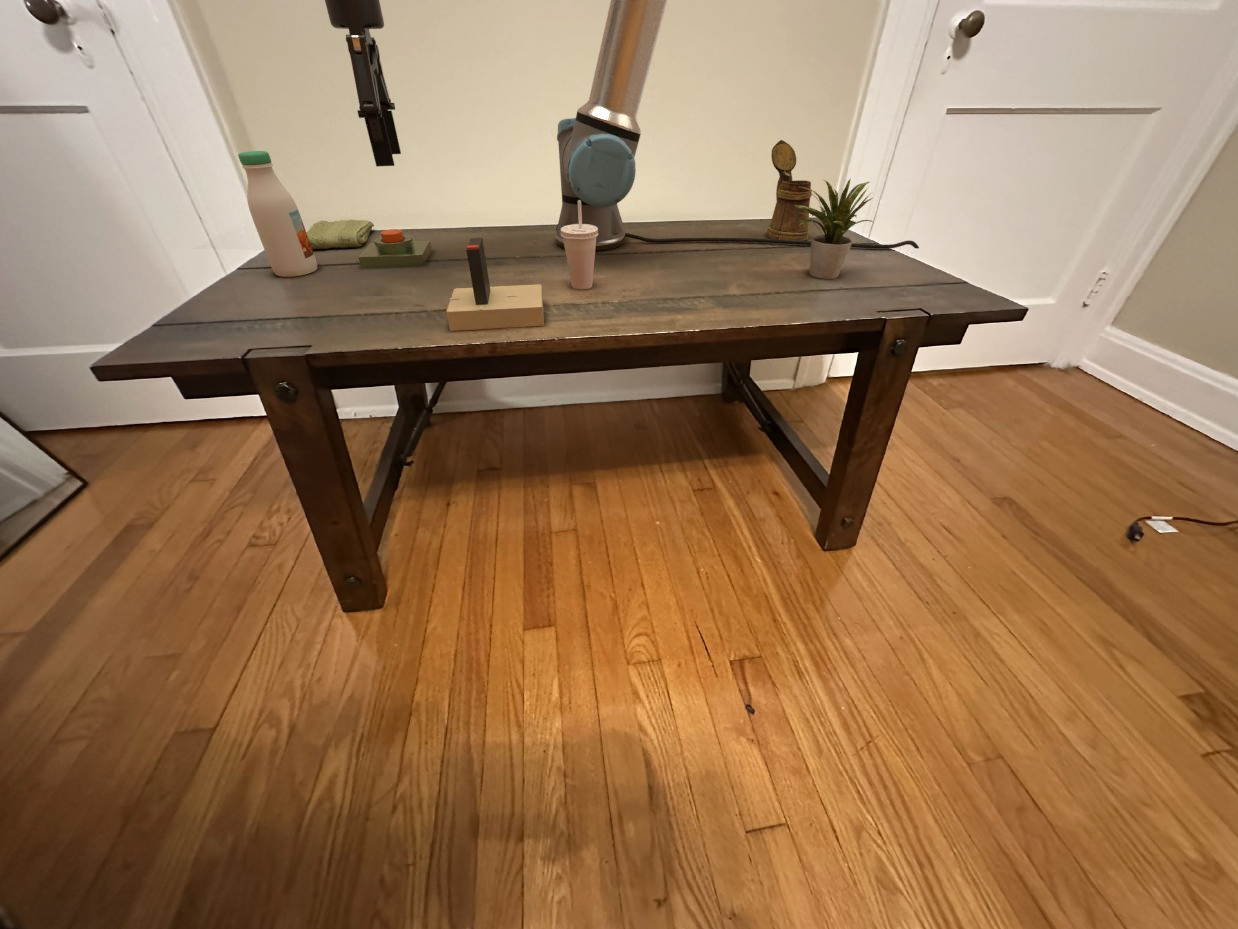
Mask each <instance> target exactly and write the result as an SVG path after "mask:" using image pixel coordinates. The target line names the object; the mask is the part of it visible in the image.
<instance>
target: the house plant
mask: <svg viewBox="0 0 1238 929" xmlns="http://www.w3.org/2000/svg"><path fill="white" fill-rule="evenodd" d="M823 182H825V184H826V186H827V192H828V201H829V205H828V202H826V200H825V199H824V198H823V197H822V196H821V195H820V194H819V193H818V192H816V191H815V190H813V189H812V188H811V189H812V190H811V189H808V188H805V189H808V190H811V191H812V195H811V196H814V198H817V201H818V204H819V208H820V210H818V209H816V208H813V207H811V206H809V207H806V206H800V205H794V206H796V207H798V208H801V209H804V210H805V211H807V212H808V213H809V216H808V215H807V216H808V217H809V219H805V220H802V221H803V222H802V221H800V222H801V224H804V223H807V222H809V223H810V222H812V223H813V225H814V226H816V228H817V229H818V230H819V232H820V233H821V234H816V235H814V236H811V239H810V241H811V245H810V259H809V260H810V262H809V275H810V276H812V277H814V278H817V279H823V280H832V279H833V280H834V279H837V278H838V277H839V275H840V273H841V271H842V268H843V266H844V263H845V261H846V258H847V256H848V254H849V252H850V249H851V248H852V247H851V245H852V243H854V242H853V241H854V240H853V239H852V238H850V237H848V236H844V235H845V234H846V233H847V232H848V231H849V230H850V229H851V228H852V227H853V226H855V225H857V224H859V223H862V222H871V223H873V224H874V223H875V222H874V221H873V220H870V219H862V220H858V221H854V220H852V219H853V218H857V215H858V214H856V213H857V212H858V211H859V210H861V209H862V208H863V207H864V206H865V205H866V204H867V203H868V202H870V201H871V200H872V199H874V197H873V196H872V197H871V198H869V197H870V196H871V194H872V192H870V193H869V194H868V195H867V196H866V197H865V198H864V199H863V197H864V195H865V194H866V193H867V191H868V189H869V188H870V186H868V187H866V186H867V185H868V184H869V183H870V181H866V182H862V183H859V184H856V185H855V186H853V188H852V189H851V190H850V191H849V189H850V185H851V178H849V180H848V181H847V182H846V184H845V186H844V189H843V191H842V192H841V194H840V198H839V193H838V191H837V190H836V189H835V188H833V186H832V184H831V183H830V182H828V181H827V180H825V179H823ZM798 187H799V186H798ZM865 187H866V189H865V190H864V188H865ZM802 188H804V187H802ZM863 190H864V191H863ZM862 191H863V192H862ZM861 192H862V193H861ZM860 193H861V194H860ZM809 194H811V193H809ZM815 195H816V196H815ZM858 196H859V197H858ZM857 197H858V198H857ZM868 198H869V199H868ZM861 199H863V200H861ZM855 200H856V201H855ZM860 201H861V203H859V202H860ZM858 203H859V205H858V206H857V204H858ZM856 206H857V207H856ZM855 207H856V208H855ZM802 214H804V213H802ZM805 215H806V214H805ZM810 215H811V217H810ZM813 217H815V218H817V219H819V220H820V222H819V221H817V220H815V219H812V218H813ZM801 224H800V225H801ZM816 224H817V225H818V226H819V227H820V228H819V227H818V226H817V225H816ZM798 227H799V226H798ZM820 229H821V230H820Z"/></svg>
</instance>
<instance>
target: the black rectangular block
mask: <svg viewBox="0 0 1238 929" xmlns="http://www.w3.org/2000/svg"><path fill="white" fill-rule="evenodd" d="M484 246H485V245H484V239H483V237H474V238H473V237H471V238H469V241H468V244H467V246H466V251H465V252H466V256H467V262H468V268H469V274H470V280H471V285H472V288H473V292H474V297H475V303H476V305H482V304H488V301H489V295H490V287H491V285H490V279H489V272H488V266H487V258H486V252H485V247H484Z"/></svg>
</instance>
